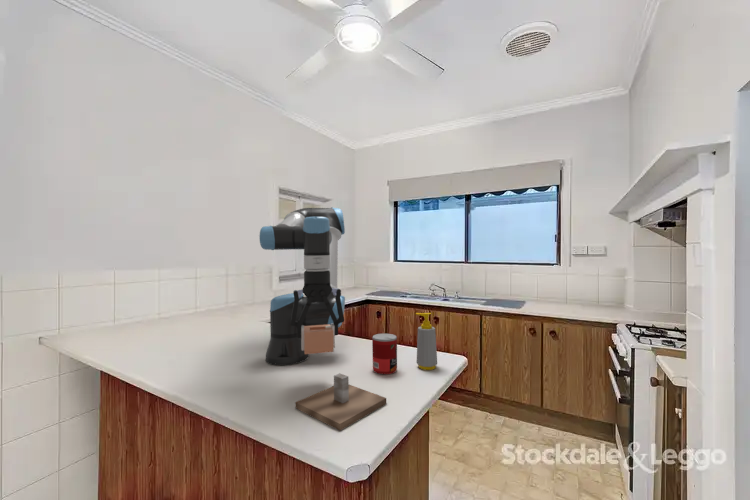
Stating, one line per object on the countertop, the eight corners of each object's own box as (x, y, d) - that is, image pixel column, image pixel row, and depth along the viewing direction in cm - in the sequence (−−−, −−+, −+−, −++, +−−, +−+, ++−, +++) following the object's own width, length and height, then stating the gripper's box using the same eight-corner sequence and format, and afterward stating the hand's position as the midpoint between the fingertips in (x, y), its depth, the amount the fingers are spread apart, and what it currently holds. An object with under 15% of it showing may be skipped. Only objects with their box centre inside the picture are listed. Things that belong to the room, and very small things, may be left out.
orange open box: (304, 354, 91) (304, 331, 91) (303, 345, 98) (303, 324, 98) (333, 351, 93) (333, 329, 93) (330, 343, 100) (329, 322, 100)
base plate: (295, 408, 81) (295, 377, 81) (342, 387, 93) (342, 360, 93) (340, 430, 70) (339, 395, 70) (386, 403, 82) (386, 374, 82)
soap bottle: (415, 363, 112) (414, 311, 112) (435, 363, 112) (435, 311, 112) (417, 370, 105) (416, 315, 105) (439, 370, 105) (438, 314, 105)
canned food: (395, 375, 101) (395, 340, 101) (370, 373, 103) (369, 338, 103) (398, 366, 109) (398, 333, 109) (375, 365, 110) (374, 332, 110)
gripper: (279, 272, 89) (280, 355, 89) (354, 269, 94) (355, 348, 95) (280, 270, 96) (281, 346, 97) (350, 268, 101) (350, 341, 102)
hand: (318, 347), depth 96 cm, fingers closed on orange open box, 8 cm apart
